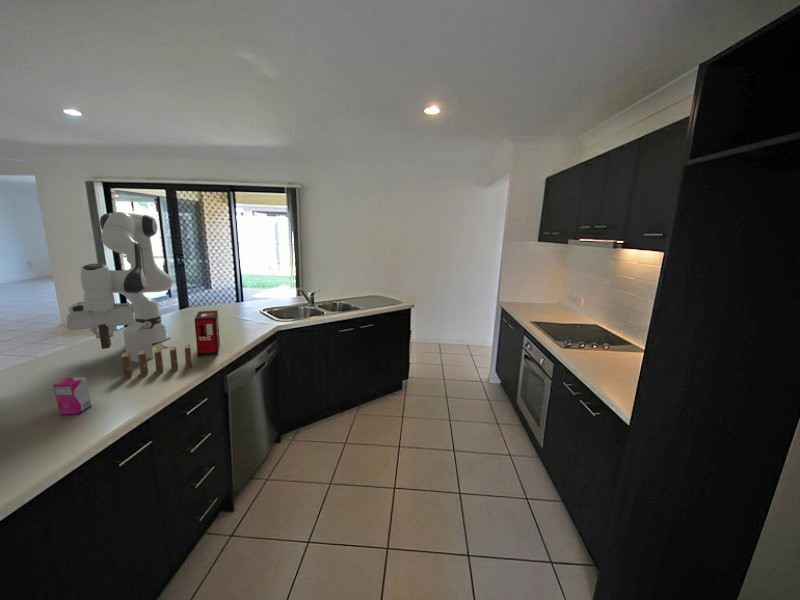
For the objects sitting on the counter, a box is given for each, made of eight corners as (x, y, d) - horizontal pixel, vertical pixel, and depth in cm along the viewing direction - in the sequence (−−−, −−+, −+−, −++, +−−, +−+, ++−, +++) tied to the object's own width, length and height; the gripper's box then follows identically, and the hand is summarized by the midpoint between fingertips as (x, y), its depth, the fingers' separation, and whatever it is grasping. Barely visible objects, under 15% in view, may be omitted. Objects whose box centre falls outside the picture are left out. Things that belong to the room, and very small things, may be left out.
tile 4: (156, 373, 140) (154, 352, 138) (157, 369, 144) (155, 349, 142) (162, 372, 141) (160, 351, 139) (163, 368, 145) (161, 348, 143)
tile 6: (186, 368, 146) (184, 348, 144) (186, 365, 150) (184, 345, 148) (192, 367, 147) (190, 347, 145) (191, 364, 151) (189, 344, 149)
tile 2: (124, 379, 134) (121, 357, 132) (125, 374, 138) (122, 353, 136) (130, 378, 135) (128, 356, 133) (132, 373, 139) (129, 352, 137)
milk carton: (139, 363, 150) (134, 324, 146) (127, 361, 151) (121, 323, 147) (153, 357, 156) (149, 321, 153) (141, 356, 158) (137, 319, 154)
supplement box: (74, 406, 112) (69, 376, 110) (92, 406, 113) (87, 376, 110) (58, 415, 106) (52, 384, 104) (77, 415, 107) (71, 384, 105)
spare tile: (101, 349, 127) (98, 325, 125) (104, 345, 131) (100, 322, 129) (109, 348, 129) (105, 324, 127) (111, 344, 133) (107, 321, 131)
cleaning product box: (201, 346, 174) (198, 311, 170) (219, 344, 178) (217, 310, 174) (197, 356, 160) (194, 319, 156) (217, 354, 164) (215, 317, 160)
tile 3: (140, 376, 137) (138, 354, 135) (142, 372, 141) (139, 351, 139) (147, 375, 138) (144, 353, 136) (148, 371, 142) (145, 350, 140)
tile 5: (171, 371, 143) (169, 350, 141) (172, 367, 147) (170, 347, 145) (177, 370, 144) (175, 349, 142) (177, 366, 148) (175, 346, 146)
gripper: (134, 301, 135) (138, 331, 138) (67, 305, 123) (72, 338, 126) (132, 303, 130) (136, 335, 133) (62, 308, 118) (68, 343, 121)
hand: (105, 337), depth 129 cm, fingers closed on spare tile, 2 cm apart
